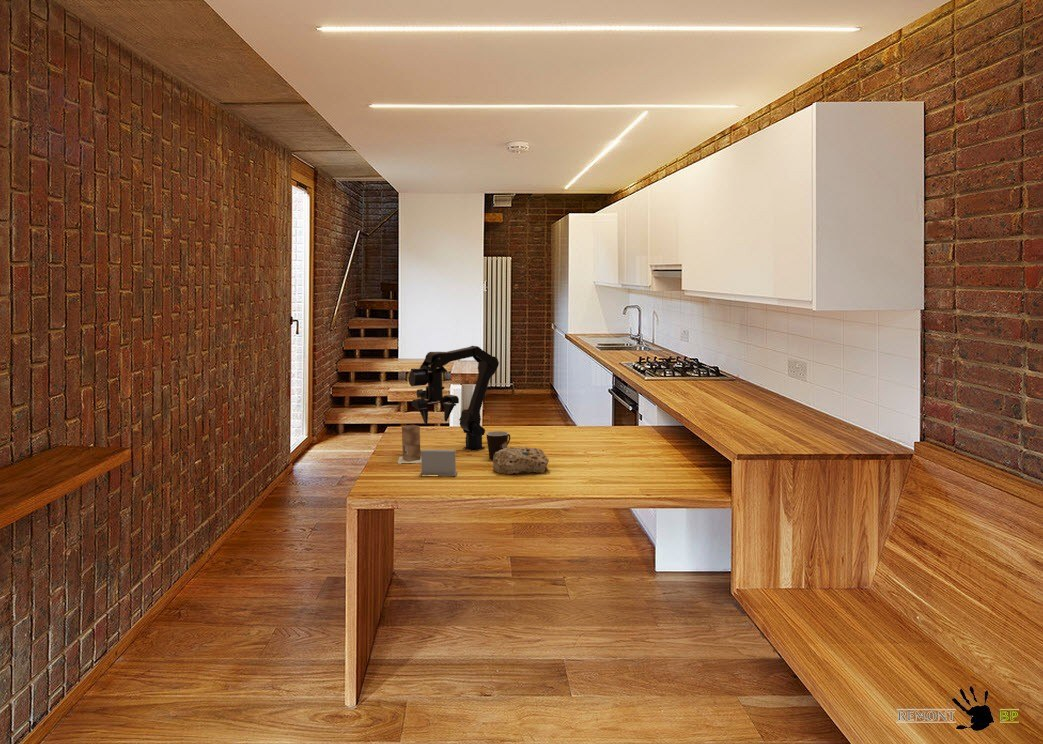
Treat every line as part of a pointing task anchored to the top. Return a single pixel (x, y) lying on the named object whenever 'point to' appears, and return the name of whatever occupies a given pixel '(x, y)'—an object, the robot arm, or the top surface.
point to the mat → (407, 461)
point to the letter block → (411, 442)
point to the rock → (519, 460)
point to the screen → (438, 462)
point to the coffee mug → (496, 441)
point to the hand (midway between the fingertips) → (435, 422)
